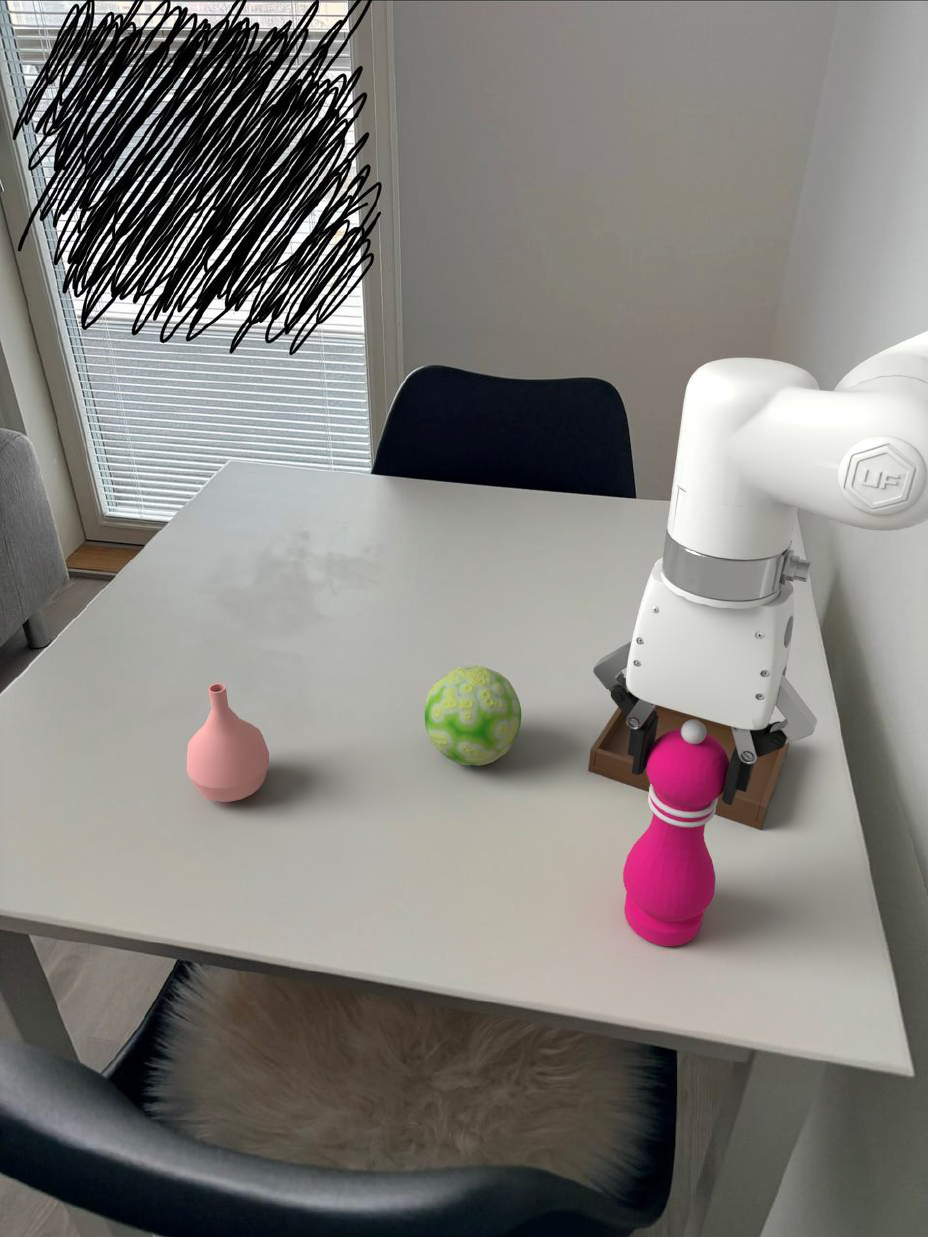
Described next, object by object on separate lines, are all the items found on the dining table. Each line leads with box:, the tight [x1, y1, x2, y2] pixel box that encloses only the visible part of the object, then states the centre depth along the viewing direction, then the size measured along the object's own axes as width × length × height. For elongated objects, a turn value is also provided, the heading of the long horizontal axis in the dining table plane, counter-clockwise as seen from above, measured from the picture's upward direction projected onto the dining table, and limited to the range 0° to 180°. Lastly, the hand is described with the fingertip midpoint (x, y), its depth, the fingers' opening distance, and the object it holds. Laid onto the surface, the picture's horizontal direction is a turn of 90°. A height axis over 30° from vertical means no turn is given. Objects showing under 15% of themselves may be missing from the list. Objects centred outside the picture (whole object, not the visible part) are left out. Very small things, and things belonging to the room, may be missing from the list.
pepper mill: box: [622, 720, 729, 947], centre depth 67 cm, size 7×7×20 cm
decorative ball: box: [424, 665, 522, 766], centre depth 88 cm, size 10×10×10 cm
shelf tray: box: [587, 705, 791, 831], centre depth 89 cm, size 17×13×3 cm
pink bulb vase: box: [185, 682, 270, 803], centre depth 82 cm, size 8×8×12 cm
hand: (686, 776), depth 65 cm, fingers closed on pepper mill, 6 cm apart
